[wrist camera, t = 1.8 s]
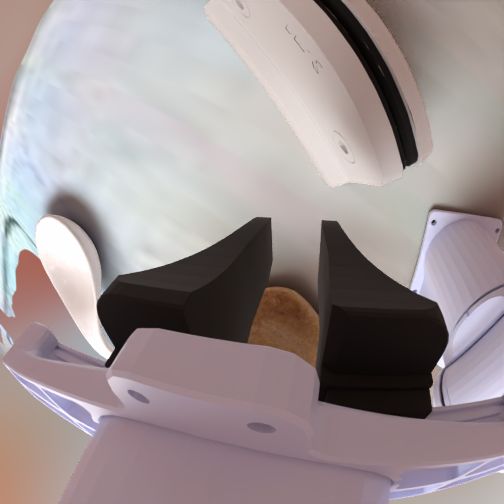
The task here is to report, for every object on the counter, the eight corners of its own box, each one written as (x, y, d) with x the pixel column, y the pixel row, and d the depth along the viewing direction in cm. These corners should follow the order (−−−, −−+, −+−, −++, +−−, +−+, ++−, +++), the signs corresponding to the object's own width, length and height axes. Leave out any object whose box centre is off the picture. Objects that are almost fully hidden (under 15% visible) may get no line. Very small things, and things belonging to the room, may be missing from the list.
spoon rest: (41, 222, 31) (6, 249, 26) (78, 187, 26) (32, 217, 21) (131, 345, 41) (110, 379, 35) (184, 342, 36) (162, 384, 30)
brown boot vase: (201, 301, 30) (137, 420, 18) (299, 266, 25) (264, 428, 13) (270, 378, 36) (242, 479, 23) (355, 361, 30) (347, 482, 18)
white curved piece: (203, 13, 15) (181, -63, 6) (256, -13, 14) (269, -91, 5) (327, 188, 20) (394, 228, 11) (376, 158, 20) (462, 178, 10)
